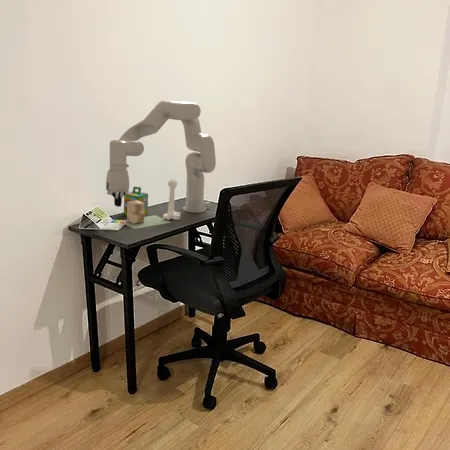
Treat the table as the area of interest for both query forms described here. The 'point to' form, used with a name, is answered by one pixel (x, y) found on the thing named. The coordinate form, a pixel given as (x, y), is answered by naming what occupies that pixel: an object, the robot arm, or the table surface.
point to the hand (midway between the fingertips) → (118, 205)
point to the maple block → (135, 212)
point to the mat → (148, 222)
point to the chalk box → (134, 197)
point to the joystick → (171, 203)
